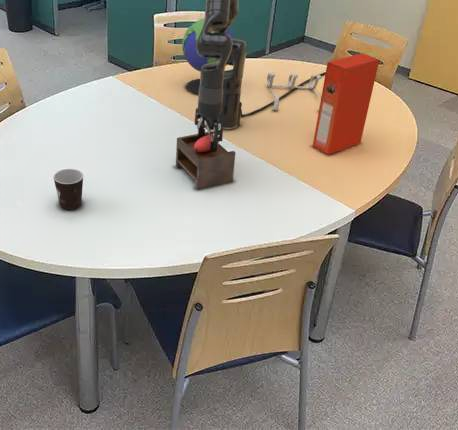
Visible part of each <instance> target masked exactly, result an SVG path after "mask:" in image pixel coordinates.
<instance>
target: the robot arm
mask: <svg viewBox="0 0 458 430" xmlns="http://www.w3.org/2000/svg"><path fill="white" fill-rule="evenodd" d="M239 5H240V4H239V0H206V1H205V10H204V11H205V12H204V18H205V19H204V18H203V19H204V23H203V27H202V29H201V32H200V34H199V37H198V39H197V42H196V51H197V53H198V55H199V56H200V57H205V58H215V59H216V62H214V63H208V64H205V65H203V66H202V68H201V72H200V73H201V74H200V78H199V79H200V87H199V95H197V96H198V97H197V108H195V112H194V125H195V126H196V129H197V134H198V140H199V139H200V138H202V137H204V136H205V132H208V135H210V138H211V144H210V151H211V152H214V151H217V146H218V142H219V143H220V142H223V138H224V137H223V135H224V130H227V131H230V130H234V129H236V128H238V127H240V124H241V118H244V117H249V116H252V115H253V114H256V113H258V112H261V111H263V110H265V109H266V108H268V107H270V106H273V105H274V100H273V101H271V102H270V103H267V104H266V105H264V106H262V107H260V108H257V109H256V110H253V111H251V112H249V113H247V114H243V109H242V107H243V103H242V102H241V95H242V84H243V83H242V82H243V78H244V77H243V76H244V69H245V63H246V57H247V50H248V49H247V48H248V47H247V43H246V41H245V40H242V39H238V38H234V39H232V38H231V37H230V36H229V35H228V34H226V31H227V29H228V28H229V29H230V27H231V26H232V24H233V23H234V22H235V20H236V19H237V17H238V15H239V12H240V6H239ZM212 31H214V33H211V32H212ZM226 65H227V66H232V69H228V70H226V67H227V66H226ZM325 74H326V71H325V72H322V73H319V74H317V75H315V77H314V79H313V80H316V77H317V76H318V75H320V76H321V77H322V76H325ZM310 79H311V77H310V78H309V79H307V80H305V81H303V82H301V83H299V84H298V85H297V86H300V87H303V86H304V85H305V84H307V83H310ZM297 89H298V88H292V89H291V90H289V91H287V92H286V93H284V94H283V95H281V96H279V97H278V98H279V101H281V100H282V99H283V98H285V97H286V96H288V95H289V94H291V93H292V92H294V91H295V90H297ZM213 135H214V138H213Z"/></svg>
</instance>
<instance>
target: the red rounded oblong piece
mask: <svg viewBox="0 0 458 430" xmlns="http://www.w3.org/2000/svg"><path fill="white" fill-rule="evenodd" d="M213 138H214V134H213ZM218 143H219V144H220V142H218ZM210 144H211V138H210V135H207V136H204V137H202V138H200V139H199V140H198V141H197V142H196V143H195V144H194V150H195V151H196V152H199V153H202V152H207V151H210Z"/></svg>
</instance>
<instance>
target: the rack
mask: <svg viewBox="0 0 458 430" xmlns="http://www.w3.org/2000/svg"><path fill="white" fill-rule="evenodd" d="M207 135H208V132H207V131H205V136H207ZM197 141H198V133H194V134H189V135H184V136H179V137H176V148H175V149H176V151H175V168H176V169H181V168H183V170H184V171H186V173H187V174H188V175H189V176H190V177H191V178H192V179H193V180H194V181H195V189H196V190H197V191H199V190H204V189H207V188H212V187H217V186H222V185H224V184H229V183H233V179H234V171H235V161H236V151H235V150H231V151H228V150H227V149H226V148H225V147H224V146H222V145H221V144H220V142H219V143H218V146H217V151H214V152H211V151H207V152H202V153H199V152H196V151H195V150H194V144H195V143H196V142H197Z"/></svg>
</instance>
